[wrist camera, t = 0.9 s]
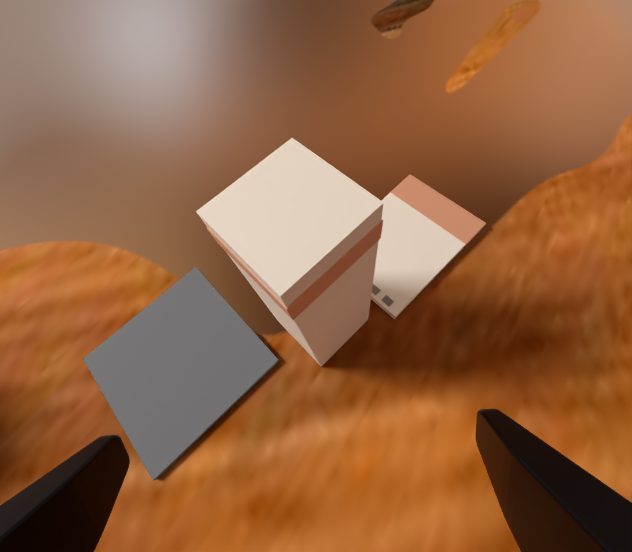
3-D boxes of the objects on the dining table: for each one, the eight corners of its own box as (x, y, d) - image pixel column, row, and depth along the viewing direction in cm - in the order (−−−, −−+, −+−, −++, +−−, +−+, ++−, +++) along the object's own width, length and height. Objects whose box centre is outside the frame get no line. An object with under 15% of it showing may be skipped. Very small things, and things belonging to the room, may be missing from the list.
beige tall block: (369, 319, 22) (385, 202, 10) (321, 367, 21) (280, 298, 9) (322, 277, 24) (292, 136, 12) (276, 320, 23) (194, 211, 11)
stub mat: (279, 361, 22) (278, 359, 21) (156, 479, 19) (153, 480, 19) (198, 269, 25) (195, 266, 25) (87, 359, 23) (82, 358, 23)
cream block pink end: (408, 179, 27) (410, 174, 26) (482, 228, 24) (486, 222, 23) (323, 257, 24) (322, 253, 24) (394, 319, 22) (395, 316, 21)
